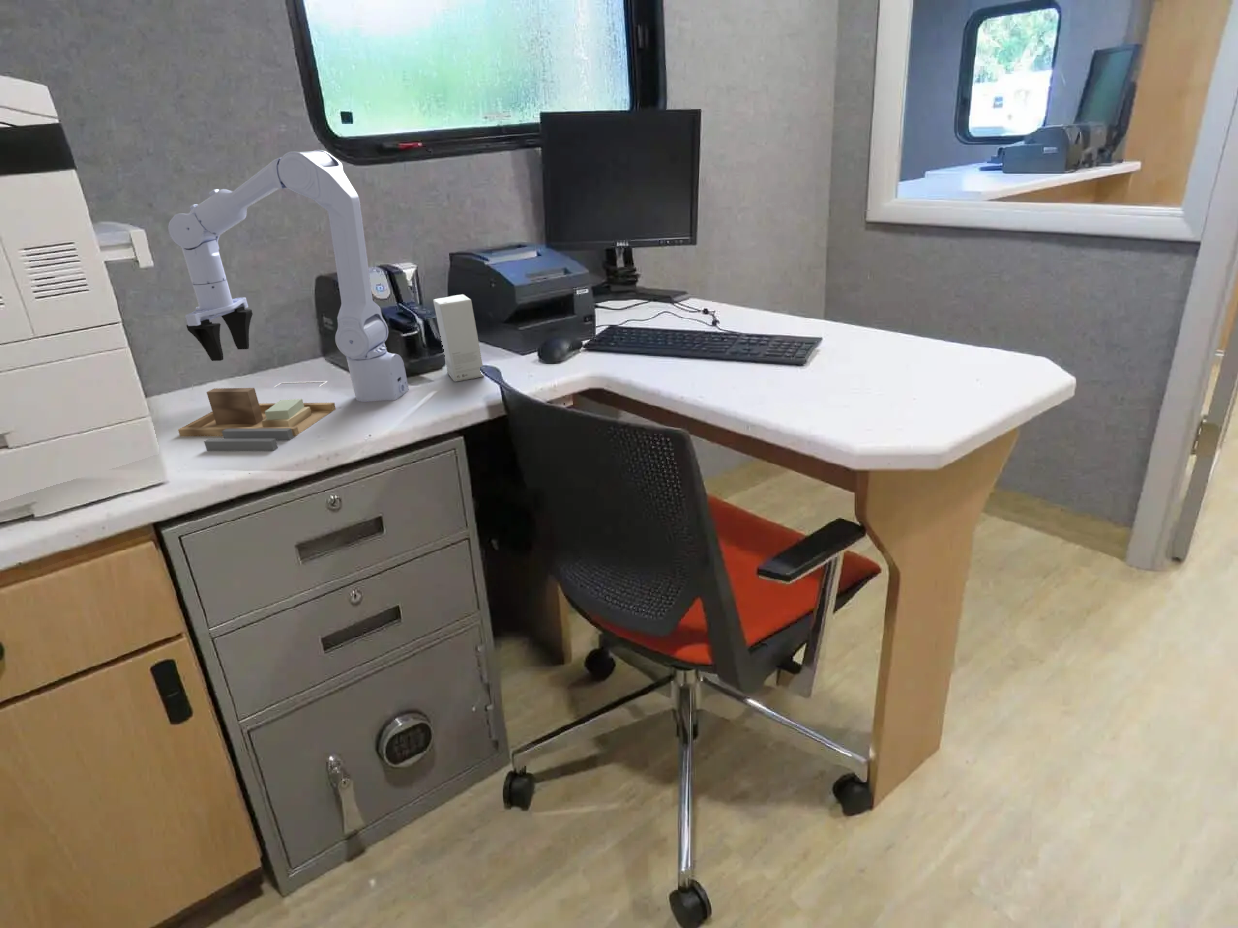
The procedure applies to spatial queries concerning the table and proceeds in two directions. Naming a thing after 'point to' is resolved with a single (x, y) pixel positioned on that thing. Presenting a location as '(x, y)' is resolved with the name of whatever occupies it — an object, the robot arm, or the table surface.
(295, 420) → the offcut
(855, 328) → the table surface
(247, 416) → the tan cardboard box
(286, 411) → the offcut
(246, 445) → the holder
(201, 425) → the tray
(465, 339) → the skincare box
